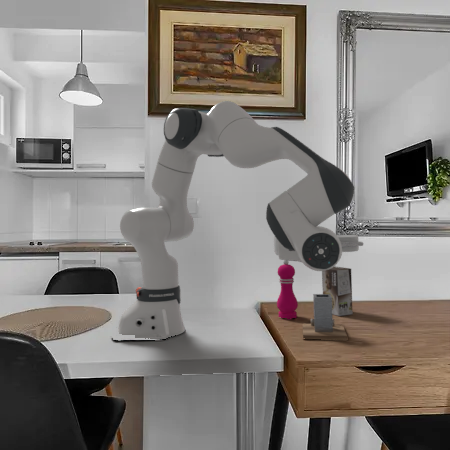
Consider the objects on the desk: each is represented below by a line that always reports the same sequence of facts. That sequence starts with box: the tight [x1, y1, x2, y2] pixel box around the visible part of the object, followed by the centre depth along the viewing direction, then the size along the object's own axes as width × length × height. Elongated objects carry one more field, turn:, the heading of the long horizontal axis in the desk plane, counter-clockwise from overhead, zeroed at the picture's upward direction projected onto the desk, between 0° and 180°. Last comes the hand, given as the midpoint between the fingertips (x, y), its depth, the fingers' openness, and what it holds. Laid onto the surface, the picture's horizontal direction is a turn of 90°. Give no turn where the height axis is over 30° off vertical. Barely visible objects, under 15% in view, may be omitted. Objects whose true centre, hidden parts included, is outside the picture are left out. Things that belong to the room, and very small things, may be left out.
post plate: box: [302, 318, 348, 342], centre depth 112 cm, size 12×12×5 cm
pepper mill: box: [276, 260, 299, 320], centre depth 132 cm, size 7×7×20 cm
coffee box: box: [321, 266, 354, 317], centre depth 136 cm, size 9×6×16 cm
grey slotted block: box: [312, 293, 333, 332], centre depth 113 cm, size 8×5×10 cm, turn 169°
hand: (314, 241), depth 99 cm, fingers open, 8 cm apart
